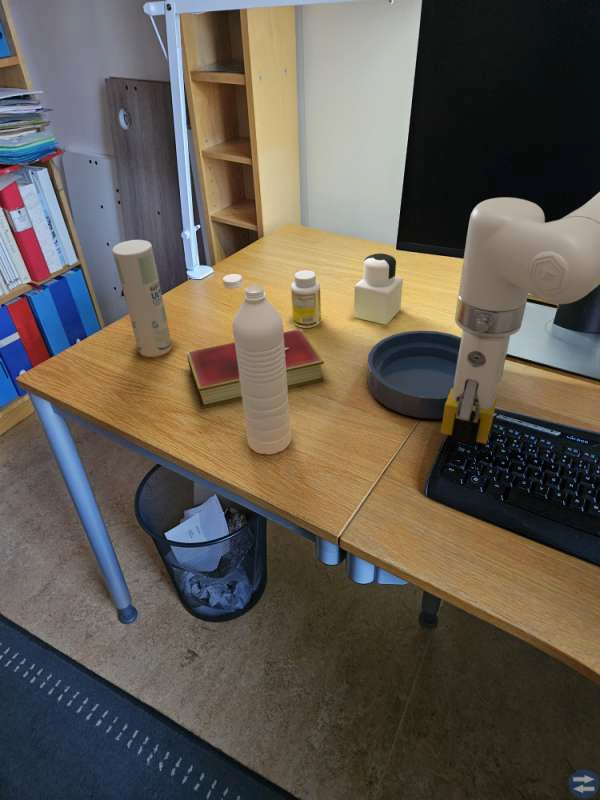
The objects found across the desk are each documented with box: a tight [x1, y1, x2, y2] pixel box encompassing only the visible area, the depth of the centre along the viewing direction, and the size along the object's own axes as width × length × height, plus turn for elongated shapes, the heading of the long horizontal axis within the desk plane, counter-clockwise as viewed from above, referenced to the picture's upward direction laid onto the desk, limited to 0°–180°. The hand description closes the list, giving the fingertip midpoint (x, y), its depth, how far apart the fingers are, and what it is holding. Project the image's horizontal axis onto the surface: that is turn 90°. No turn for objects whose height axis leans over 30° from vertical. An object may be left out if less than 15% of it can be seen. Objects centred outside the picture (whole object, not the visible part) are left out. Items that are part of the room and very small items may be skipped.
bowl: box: [366, 330, 462, 420], centre depth 92 cm, size 20×20×4 cm
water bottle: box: [222, 273, 292, 455], centre depth 76 cm, size 9×6×25 cm
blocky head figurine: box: [353, 253, 404, 326], centre depth 109 cm, size 7×7×12 cm
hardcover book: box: [186, 328, 325, 409], centre depth 96 cm, size 12×21×4 cm, turn 109°
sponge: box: [440, 388, 498, 445], centre depth 75 cm, size 6×4×5 cm, turn 65°
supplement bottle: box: [290, 269, 322, 329], centre depth 108 cm, size 6×6×10 cm
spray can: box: [111, 239, 173, 358], centre depth 99 cm, size 6×6×20 cm
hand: (467, 428), depth 76 cm, fingers closed on sponge, 4 cm apart
